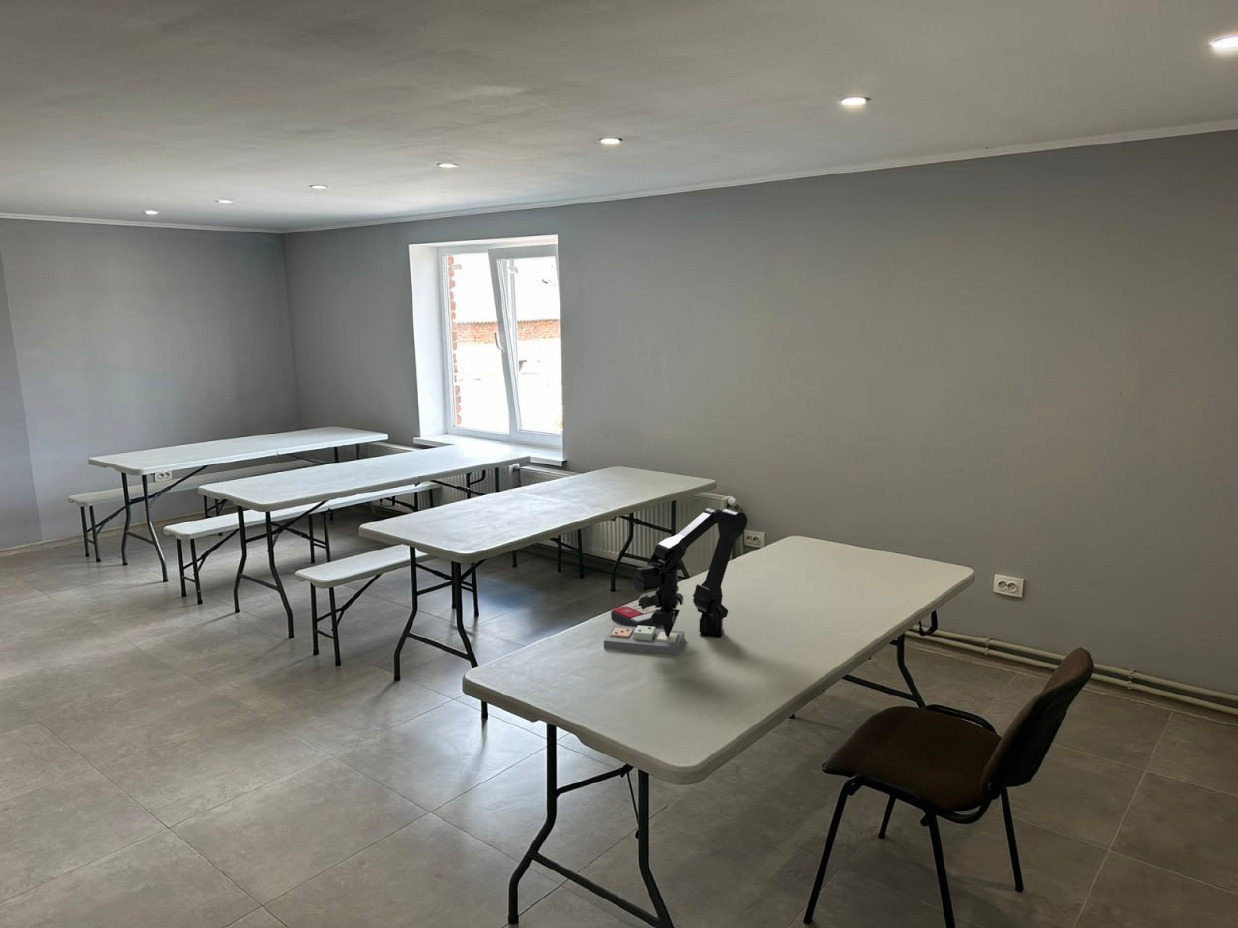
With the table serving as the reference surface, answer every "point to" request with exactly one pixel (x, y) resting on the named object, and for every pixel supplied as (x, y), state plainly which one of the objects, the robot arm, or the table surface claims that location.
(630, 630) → the tile
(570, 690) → the table surface
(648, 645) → the console
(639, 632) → the tile
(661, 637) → the tile
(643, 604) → the robot arm
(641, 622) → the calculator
